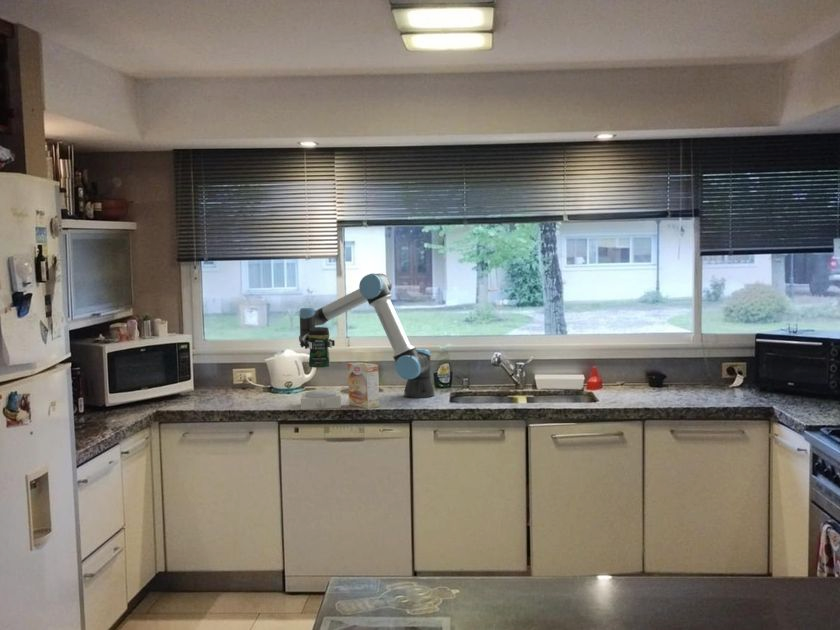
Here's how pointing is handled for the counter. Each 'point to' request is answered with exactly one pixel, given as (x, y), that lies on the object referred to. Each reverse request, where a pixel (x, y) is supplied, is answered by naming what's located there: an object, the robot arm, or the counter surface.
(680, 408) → the counter surface
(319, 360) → the coffee jar
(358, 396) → the coffeecake box
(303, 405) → the clear plastic food container
